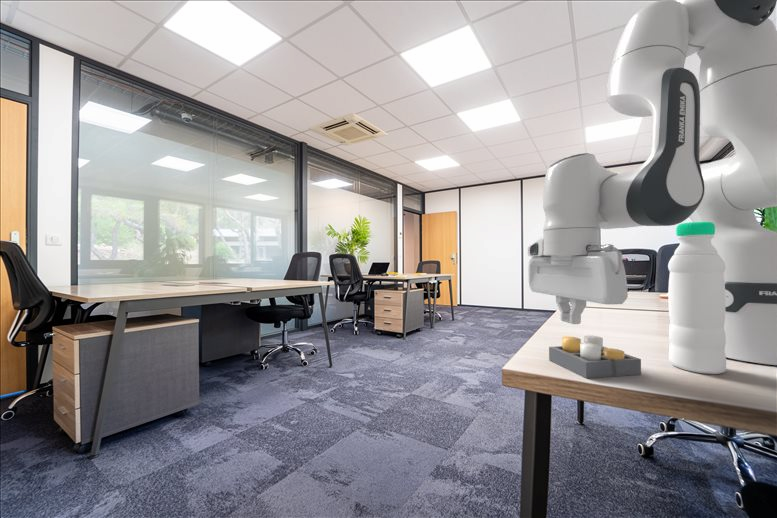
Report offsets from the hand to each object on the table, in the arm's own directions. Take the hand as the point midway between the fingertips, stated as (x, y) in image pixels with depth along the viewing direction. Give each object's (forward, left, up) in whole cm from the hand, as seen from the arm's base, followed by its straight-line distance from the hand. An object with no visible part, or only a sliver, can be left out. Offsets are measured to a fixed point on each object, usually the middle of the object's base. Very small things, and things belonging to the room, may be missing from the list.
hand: (570, 322), depth 57 cm
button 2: (0, +4, -6) cm, 7 cm away
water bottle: (-19, +6, -8) cm, 22 cm away
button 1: (0, 0, -6) cm, 6 cm away
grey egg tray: (-2, +2, -7) cm, 8 cm away
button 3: (-5, 0, -6) cm, 7 cm away
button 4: (-5, +4, -7) cm, 9 cm away
